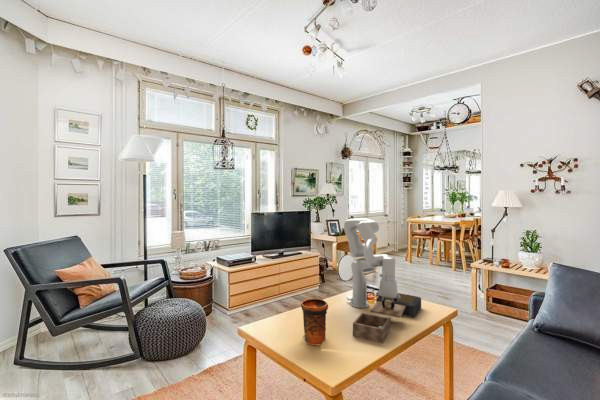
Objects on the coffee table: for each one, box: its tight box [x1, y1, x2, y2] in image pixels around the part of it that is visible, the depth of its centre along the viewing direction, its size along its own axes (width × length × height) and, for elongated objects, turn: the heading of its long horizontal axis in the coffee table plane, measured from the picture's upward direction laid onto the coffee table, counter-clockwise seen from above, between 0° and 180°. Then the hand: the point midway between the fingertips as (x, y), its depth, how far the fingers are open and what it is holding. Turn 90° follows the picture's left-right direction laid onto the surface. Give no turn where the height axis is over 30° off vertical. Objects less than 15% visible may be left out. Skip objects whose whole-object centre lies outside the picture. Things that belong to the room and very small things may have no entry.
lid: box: [369, 300, 406, 319], centre depth 183 cm, size 17×17×5 cm
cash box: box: [375, 292, 422, 318], centre depth 205 cm, size 25×20×8 cm
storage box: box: [352, 312, 391, 344], centre depth 167 cm, size 16×16×8 cm
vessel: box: [300, 298, 329, 347], centre depth 162 cm, size 14×14×20 cm
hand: (388, 307), depth 183 cm, fingers closed on lid, 4 cm apart
